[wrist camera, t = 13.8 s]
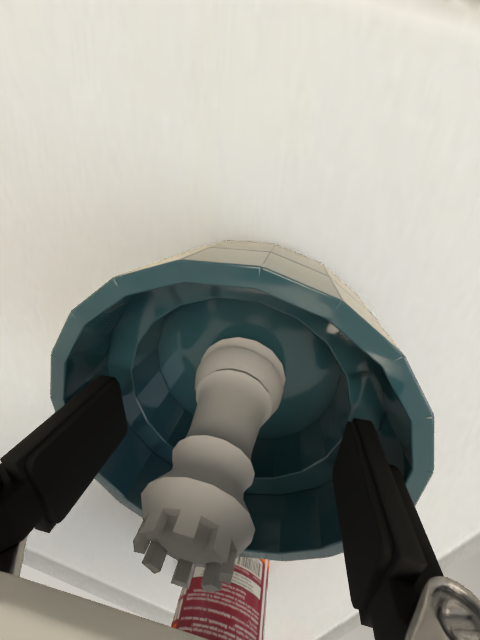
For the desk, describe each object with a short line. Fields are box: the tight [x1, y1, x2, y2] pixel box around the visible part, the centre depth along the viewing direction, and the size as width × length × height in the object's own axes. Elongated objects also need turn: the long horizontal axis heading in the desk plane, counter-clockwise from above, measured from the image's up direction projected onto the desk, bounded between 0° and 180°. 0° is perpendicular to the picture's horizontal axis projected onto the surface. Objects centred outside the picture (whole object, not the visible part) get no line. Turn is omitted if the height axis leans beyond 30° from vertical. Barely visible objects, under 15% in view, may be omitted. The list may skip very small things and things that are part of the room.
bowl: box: [50, 240, 434, 561], centre depth 11 cm, size 13×13×6 cm
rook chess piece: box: [133, 337, 286, 592], centre depth 10 cm, size 4×4×8 cm
